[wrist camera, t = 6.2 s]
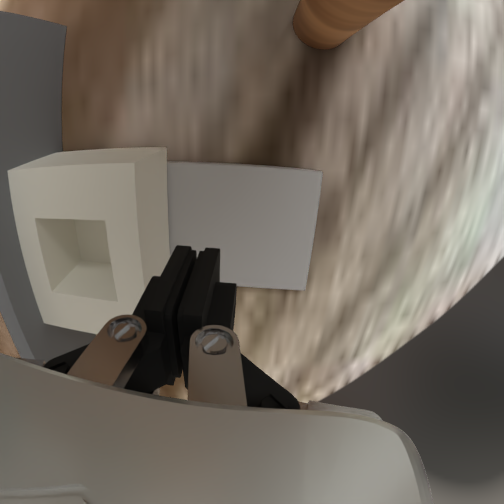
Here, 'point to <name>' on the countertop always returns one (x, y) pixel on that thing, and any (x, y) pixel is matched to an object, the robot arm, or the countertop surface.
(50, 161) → the socket block
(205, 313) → the robot arm
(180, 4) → the countertop surface
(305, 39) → the dowel
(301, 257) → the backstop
